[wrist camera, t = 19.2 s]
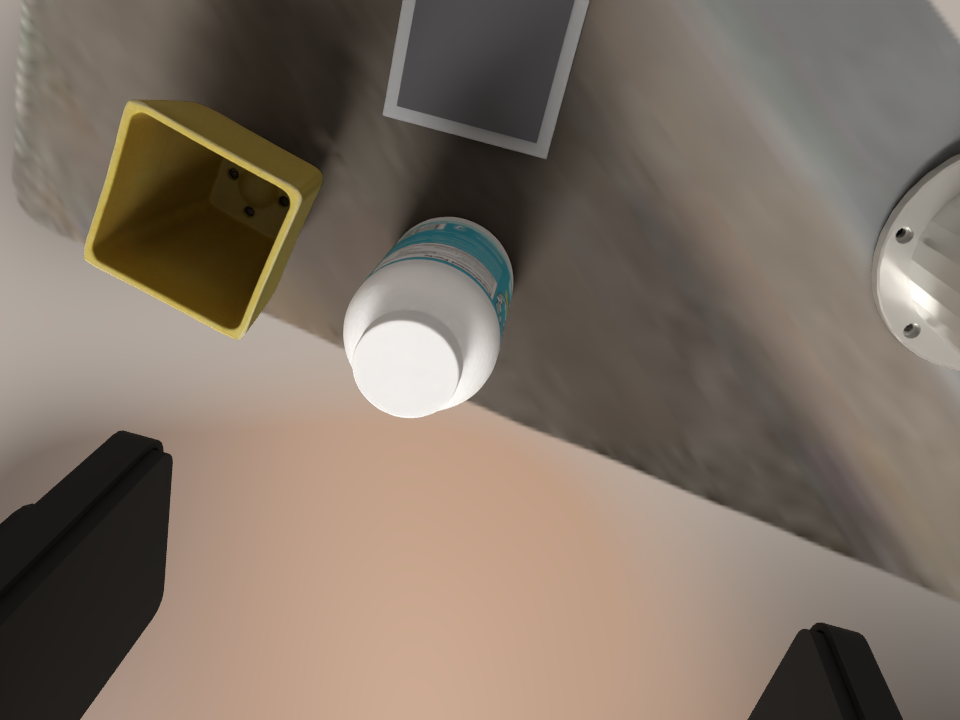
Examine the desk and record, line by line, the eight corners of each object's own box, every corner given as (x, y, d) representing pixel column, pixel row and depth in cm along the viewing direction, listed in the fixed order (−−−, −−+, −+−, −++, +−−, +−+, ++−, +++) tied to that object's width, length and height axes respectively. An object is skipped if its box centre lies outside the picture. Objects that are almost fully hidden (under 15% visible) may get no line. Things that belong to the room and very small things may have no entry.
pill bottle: (465, 356, 46) (424, 476, 34) (367, 284, 45) (287, 381, 33) (541, 265, 43) (526, 361, 31) (438, 185, 42) (380, 253, 30)
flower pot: (300, 287, 46) (239, 345, 37) (169, 216, 45) (77, 260, 37) (358, 159, 42) (304, 193, 34) (217, 79, 41) (127, 94, 33)
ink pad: (596, -26, 37) (596, -27, 36) (546, 156, 41) (545, 160, 39) (419, -72, 37) (414, -75, 36) (387, 113, 41) (381, 116, 40)
